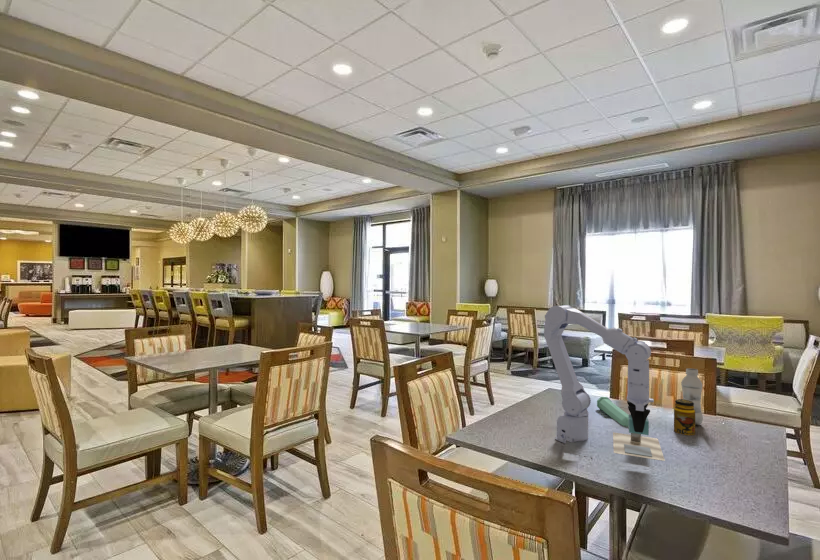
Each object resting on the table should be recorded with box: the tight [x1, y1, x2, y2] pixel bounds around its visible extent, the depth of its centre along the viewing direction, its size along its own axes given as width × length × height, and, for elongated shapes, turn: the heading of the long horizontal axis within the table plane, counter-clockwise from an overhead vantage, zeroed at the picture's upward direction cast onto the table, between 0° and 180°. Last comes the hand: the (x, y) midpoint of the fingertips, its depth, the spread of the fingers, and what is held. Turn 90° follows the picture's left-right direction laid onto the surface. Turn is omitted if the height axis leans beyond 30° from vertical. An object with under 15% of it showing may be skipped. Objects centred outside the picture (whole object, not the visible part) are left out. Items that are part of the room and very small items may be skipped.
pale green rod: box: [596, 396, 629, 427], centre depth 161 cm, size 6×6×25 cm
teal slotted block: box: [627, 413, 650, 436], centre depth 128 cm, size 5×5×4 cm
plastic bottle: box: [681, 368, 704, 426], centre depth 157 cm, size 6×7×20 cm
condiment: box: [673, 398, 696, 436], centre depth 145 cm, size 7×8×12 cm
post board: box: [612, 431, 666, 462], centre depth 132 cm, size 19×13×4 cm
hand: (638, 428), depth 128 cm, fingers closed on teal slotted block, 5 cm apart
